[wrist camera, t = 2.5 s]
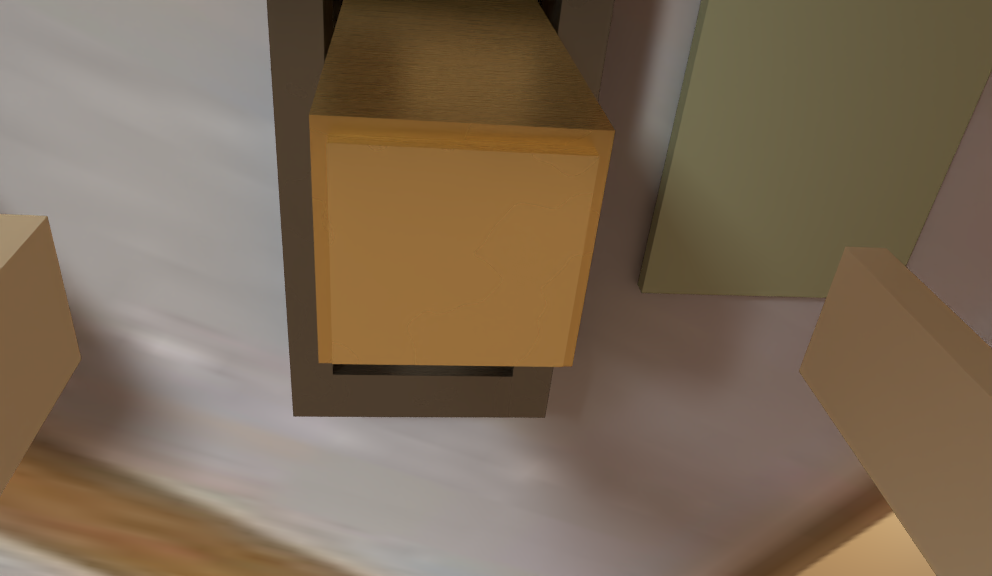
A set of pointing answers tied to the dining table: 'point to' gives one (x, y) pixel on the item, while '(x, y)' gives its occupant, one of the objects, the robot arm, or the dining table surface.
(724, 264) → the mat
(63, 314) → the robot arm
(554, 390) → the dining table surface
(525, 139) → the wooden block
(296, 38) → the grey compartment tray
